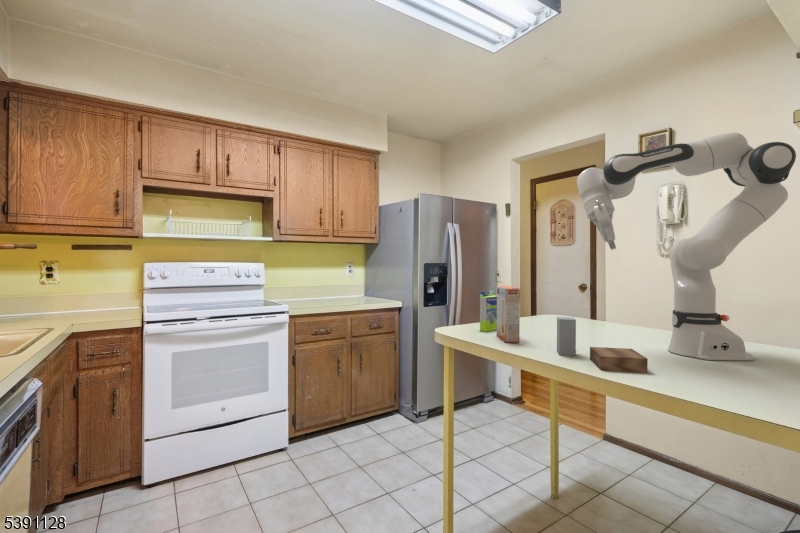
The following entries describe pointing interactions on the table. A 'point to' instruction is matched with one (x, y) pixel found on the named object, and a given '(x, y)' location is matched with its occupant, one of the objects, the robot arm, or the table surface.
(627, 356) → the walnut block
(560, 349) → the grey block
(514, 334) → the cracker box
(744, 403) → the table surface
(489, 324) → the box
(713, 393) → the table surface
